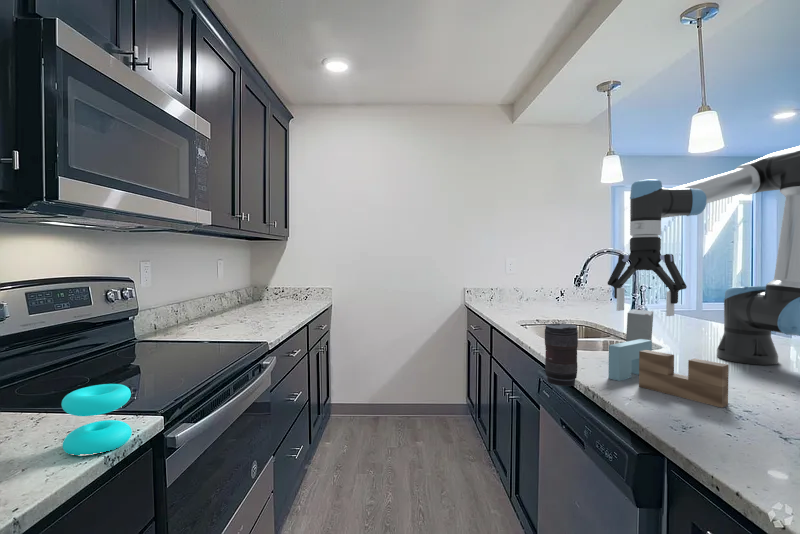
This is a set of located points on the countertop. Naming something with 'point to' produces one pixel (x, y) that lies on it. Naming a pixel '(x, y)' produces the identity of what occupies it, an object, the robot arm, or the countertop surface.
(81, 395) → the donuts
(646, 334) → the skincare box
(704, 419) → the countertop surface
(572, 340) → the camera lens
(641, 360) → the walnut notched block
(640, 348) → the light blue notched block
